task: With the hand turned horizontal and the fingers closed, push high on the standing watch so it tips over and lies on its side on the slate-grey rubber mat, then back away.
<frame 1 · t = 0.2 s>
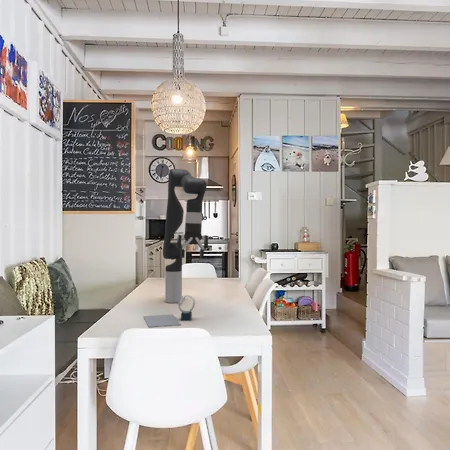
hand: (192, 257, 188), 29 cm above the table, tool pointing down, fingers open, 8 cm apart
watch: (186, 319, 190), on the table
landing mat: (161, 320, 187), on the table
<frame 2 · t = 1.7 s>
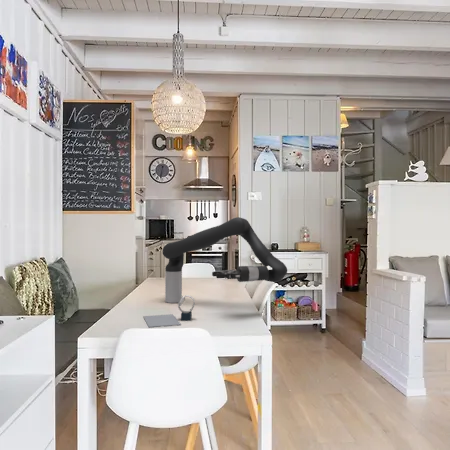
hand: (214, 274, 194), 20 cm above the table, tool horizontal, fingers open, 6 cm apart
nothing on the table moved.
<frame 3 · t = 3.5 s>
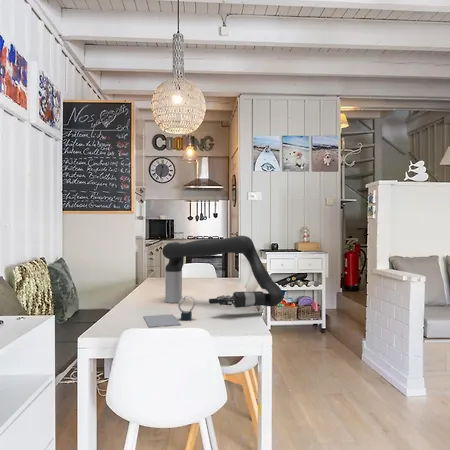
hand: (209, 301, 194), 8 cm above the table, tool horizontal, fingers closed
nothing on the table moved.
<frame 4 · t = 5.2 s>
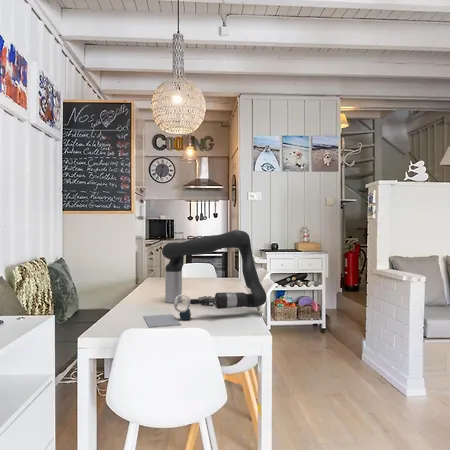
hand: (190, 301, 191), 8 cm above the table, tool horizontal, fingers closed
watch: (186, 318, 190), on the table, touching gripper
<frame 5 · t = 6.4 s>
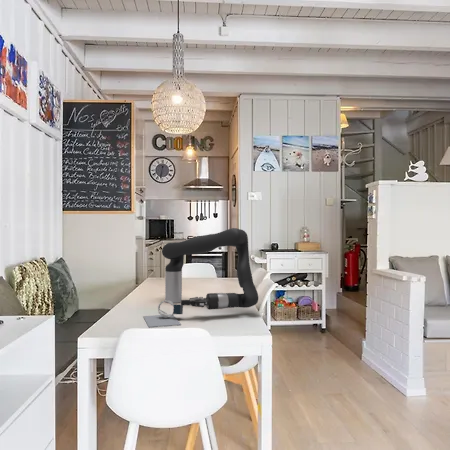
hand: (181, 302, 189), 8 cm above the table, tool horizontal, fingers closed
watch: (181, 309, 190), point 4 cm above the table, touching gripper, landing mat
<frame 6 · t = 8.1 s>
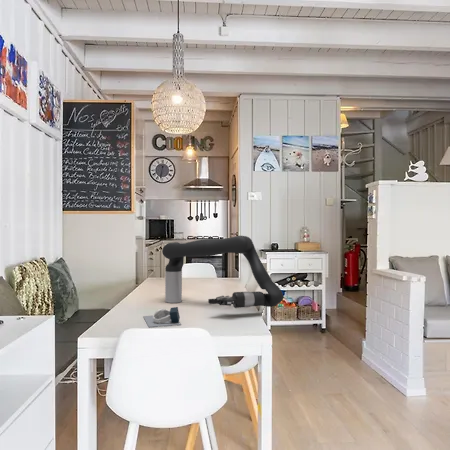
hand: (208, 301, 193), 8 cm above the table, tool horizontal, fingers closed
watch: (178, 314, 183), point 4 cm above the table, touching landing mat
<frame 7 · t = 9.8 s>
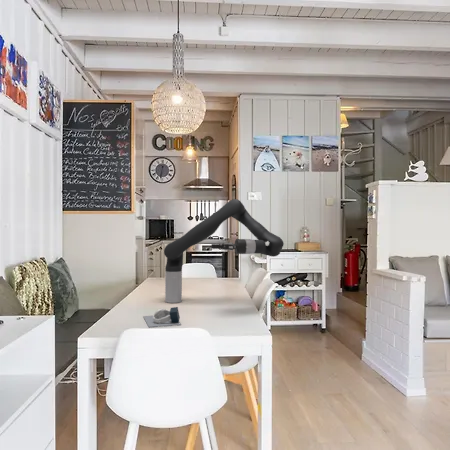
hand: (211, 246, 203), 33 cm above the table, tool horizontal, fingers closed
nothing on the table moved.
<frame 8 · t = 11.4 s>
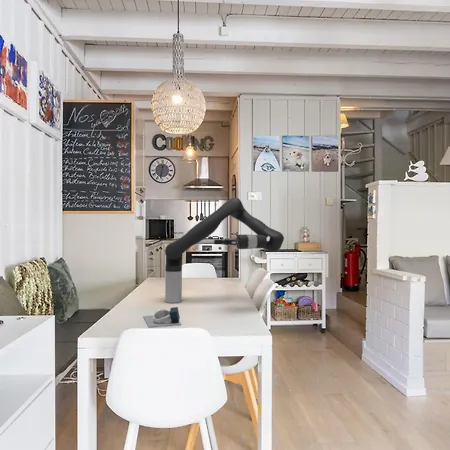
hand: (214, 242, 206), 35 cm above the table, tool horizontal, fingers closed
nothing on the table moved.
at the end: watch tilted 98°; watch inside the target area (5.9 cm from its centre), point 3.7 cm above the table; the gripper is holding nothing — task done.
